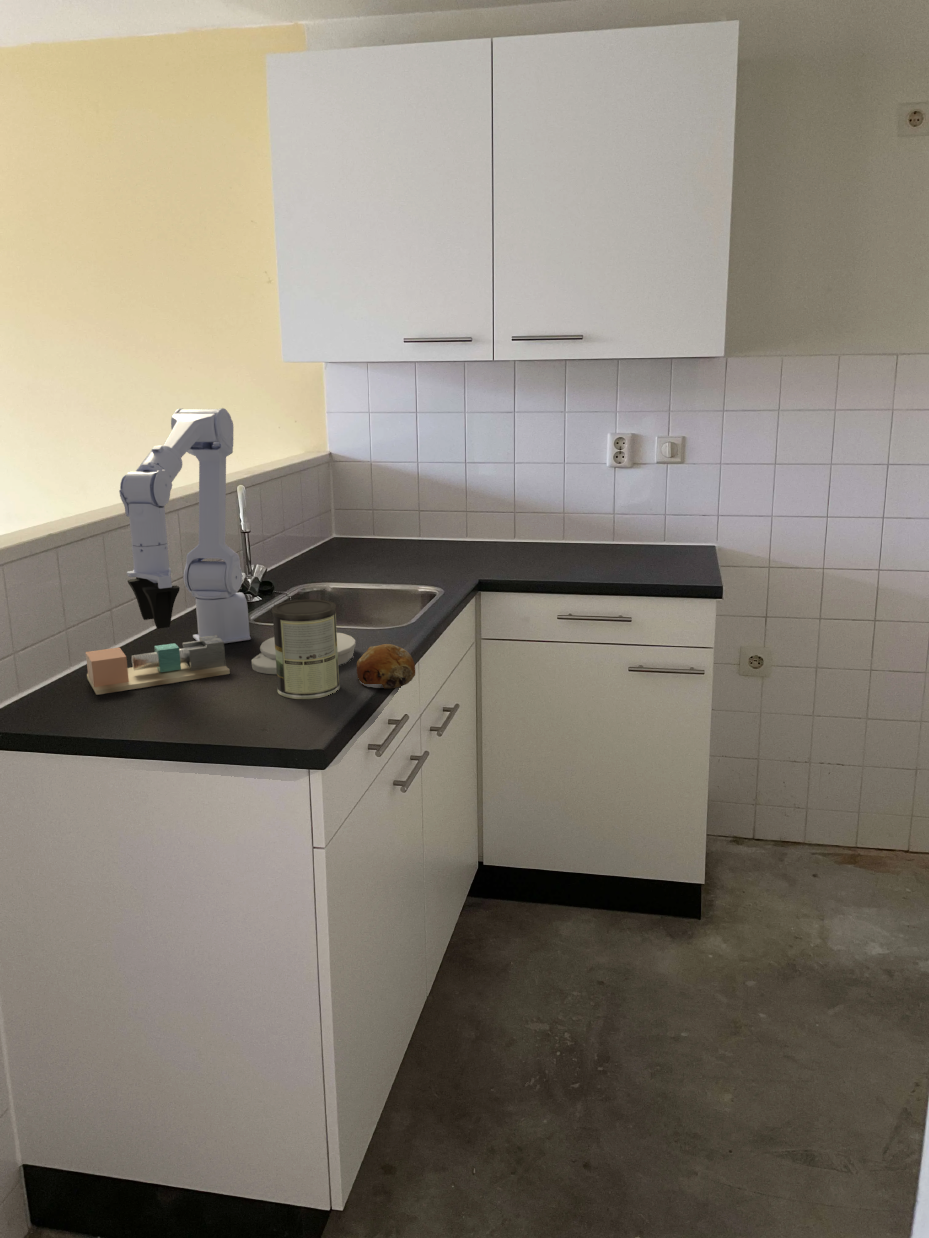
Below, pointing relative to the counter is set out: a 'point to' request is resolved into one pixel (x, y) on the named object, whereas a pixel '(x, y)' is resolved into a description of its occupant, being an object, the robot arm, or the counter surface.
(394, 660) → the bread roll
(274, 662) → the lid
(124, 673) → the socket
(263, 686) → the counter surface
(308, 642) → the coffee can
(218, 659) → the gray notched block
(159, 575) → the robot arm
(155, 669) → the board
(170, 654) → the tube
